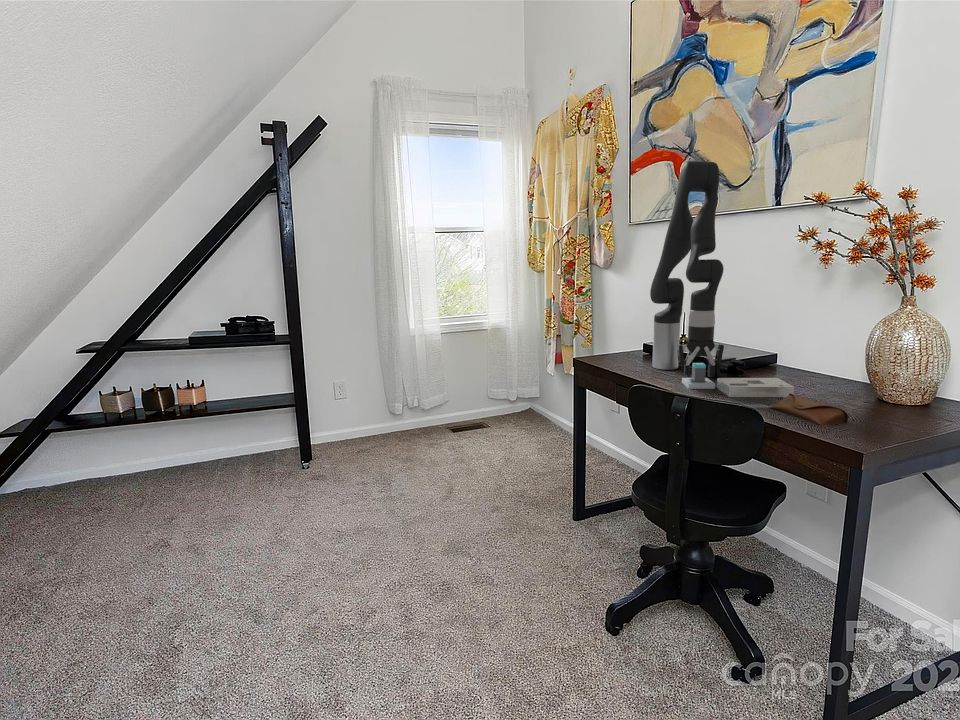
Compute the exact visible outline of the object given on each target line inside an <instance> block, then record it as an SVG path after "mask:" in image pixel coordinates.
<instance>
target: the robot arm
mask: <svg viewBox="0 0 960 720" xmlns="http://www.w3.org/2000/svg"><path fill="white" fill-rule="evenodd" d="M719 169H720V168H719V166H718V163H717V162H714V161H706V160H703V161H702V160H701V161H700V160H690V161H689V160H688V161H686V162H684V163H683V165H682V167H681V170H680V172H679V178H678V182H677V188H676V193H675V198H674V204H673V207H672V208H673V209H672V214H671V217H670V220H669V223H668V227H667V230H666V234H665V238H664V243H663V247H662V252H661V255H660V260H659V263H658V266H657V268H656V271H655V274H654V277H653V279H652V283H651V286H650V292H649V293H650V294H649V296H650V301H651V302H652V303H653V304H656V305H657V304H658V305H659V304H660V305H663V304H664V305H665V304H668V305H667V307H666V308H665V309H663V310H662V311H658V312H657V313H655V314H654V315H653V316H654V317H653V341H652V343H653V344H652V363H651V364H652V366H651V367H652V368H653V369H657V370H669V371H670V370H677V369H679V364H682V365H683V374H684V375H685V378H691V365H690V364H691V363H692V362H693V360H694V358H695V357H704V358H706V360H707V362H708V364H707V377H709V378H713V377H712V375H714V366H715V364H718V363H721V360H723V354H724V348H725V345H723V344H721V343H715V342H714V338H715V325H716V314H715V308H716V307H715V306H716V296H717V293H718V289H719V286H720V284H721V283H720V282H721V281H722V277H723V274H724V269H725V268H724V265H723V262H722V261H721V260H720V259H713V258H711V259H709V258H708V259H699V258H700V257H703V256H706V255H709V254H712V253H713V252H715V250H716V249H717V248H716V247H717V246H716V245H717V243H716V213H717V204H718V195H719V184H720V170H719ZM690 193H704V201H703V204H702V206H701V208H700V209H699V210H698V213H697V214H696V216H695V218H693V216H692V214H691V212H690V211H691V210H690V207H689V195H690ZM688 254H689V259H688V263H687V266H686V270H685V278H686V279H687V280H688V281H689V282H690V283H693V284H699V283H700V284H701V283H703V284H704V283H706V284H707V283H708V284H707V286H706V287H705V288H703V289H699V290H695V291H693V292H691V295H690V306H689V315H688V327H687V328H688V331H687V341H686V343H684V344H680V338H681V337H680V336H681V335H680V334H681V319H682V314H683V303H684V297H685V295H684V294H685V286H684V282H683V280H682V279H681V278H680V277H679V278H678V277H670V276H671V273H672V272H673V271H674V269H675V268H676V267H677V266H678V264H680V263H681V262H682V260H684V259H685V258H686V256H688ZM686 349H687V350H688V353H687V354H686V357H685V359H684V352H685V350H686ZM713 350H715V351H716V352H715V355H714V356H715V357H713V354H712V353H711V352H712V351H713Z"/></svg>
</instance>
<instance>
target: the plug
mask: <svg viewBox="0 0 960 720" xmlns="http://www.w3.org/2000/svg"><path fill="white" fill-rule="evenodd" d="M691 363H692V365H691V378H692V382H693V383H701V382H705V378H706V369H707V368H706V367H707V365H706V364H705V363H704V362H691Z"/></svg>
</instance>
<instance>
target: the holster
mask: <svg viewBox="0 0 960 720" xmlns="http://www.w3.org/2000/svg"><path fill="white" fill-rule="evenodd" d="M681 383H682V384H683V386H685V387H686V388H687V389H688V390H691V389H692V390H693V389H694V390H695V389H696V390H698V389H699V390H700V389H701V390H703V389H704V390H706V389H707V390H708V389H709V390H710V389H712V390H714V389H716V383H715V382H714V381H712V380H711V379H710V378H708V377H705V382H701V383H693V382H692V377H681Z"/></svg>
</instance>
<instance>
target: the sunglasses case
mask: <svg viewBox="0 0 960 720" xmlns="http://www.w3.org/2000/svg"><path fill="white" fill-rule="evenodd" d="M768 408H769V409H771V410H775V411H778V412H781V413H785V414H788V415H790V416H794V417H796V418H799V419H802V420H805V421H808V422H810V423H813V424H816V425H819V426H821V427H824V426H830V425H831V426H832V425H836V424H837V425H838V424H844V423H845V424H847V423H848V419H849V415H848V413H847V412H846V411H845V410H844V409H842V408H840V407H837V406H833V405H827V404H824V403H821V402H819V401H815V400H811V399H809V398H804V397H802V396H797V395H795V394H791V393H789V395H788V396H787V397H785V398H782V399H780V400H779V401H777V402H776V403H774V404H773V405H772V406H769V407H768Z"/></svg>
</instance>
